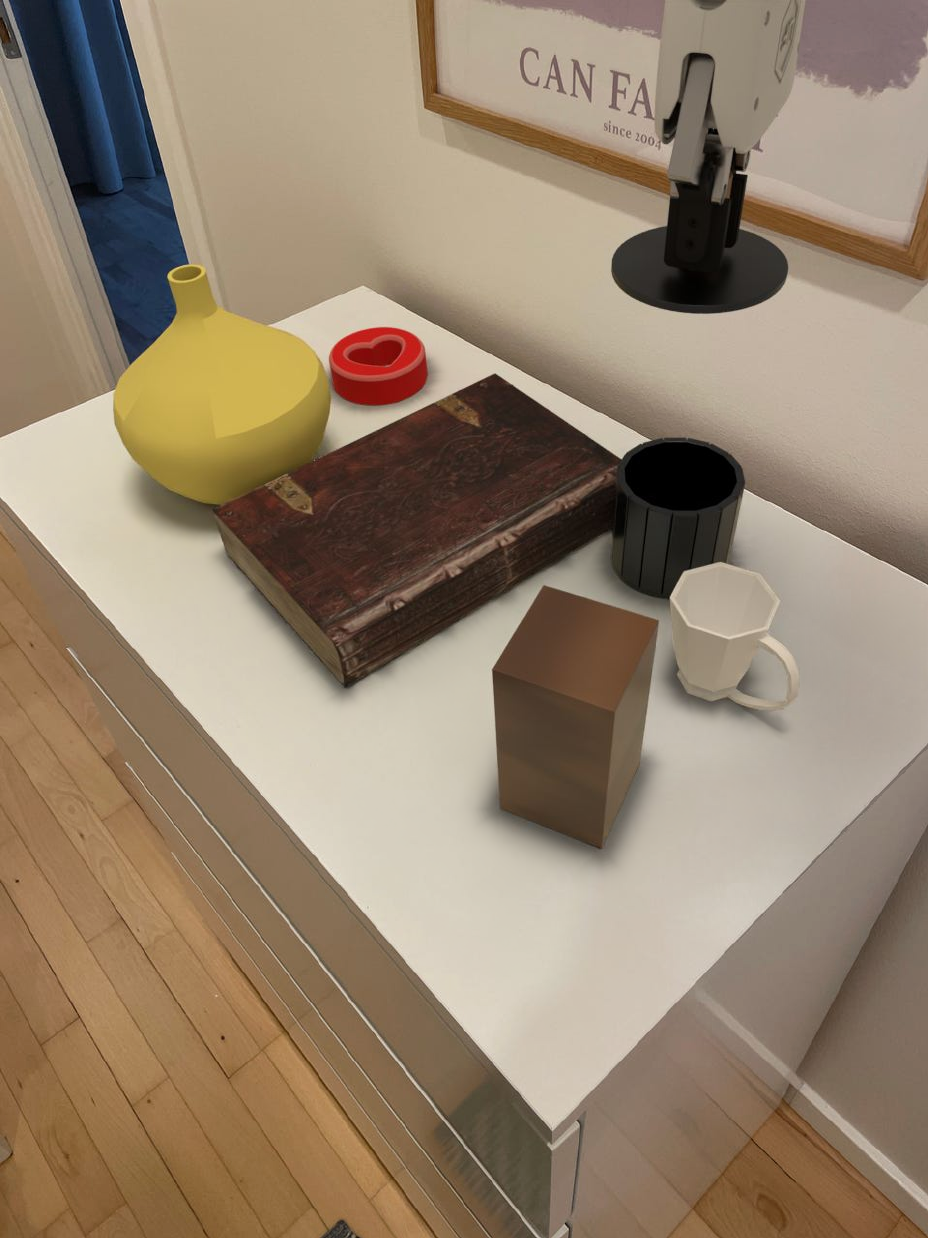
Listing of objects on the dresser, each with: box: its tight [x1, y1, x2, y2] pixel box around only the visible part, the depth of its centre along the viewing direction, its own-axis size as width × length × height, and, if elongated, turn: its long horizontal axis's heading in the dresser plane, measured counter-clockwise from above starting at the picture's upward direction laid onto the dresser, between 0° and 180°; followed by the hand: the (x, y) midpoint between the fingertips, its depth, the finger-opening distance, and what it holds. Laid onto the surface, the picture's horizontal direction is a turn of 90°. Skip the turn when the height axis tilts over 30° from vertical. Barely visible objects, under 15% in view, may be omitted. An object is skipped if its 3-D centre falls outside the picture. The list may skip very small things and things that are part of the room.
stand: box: [491, 584, 660, 849], centre depth 57 cm, size 7×7×14 cm
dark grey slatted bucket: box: [610, 436, 746, 600], centre depth 72 cm, size 9×9×8 cm
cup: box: [669, 562, 800, 712], centre depth 63 cm, size 7×10×8 cm
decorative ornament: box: [328, 326, 429, 406], centre depth 95 cm, size 10×10×3 cm
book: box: [211, 372, 622, 688], centre depth 77 cm, size 29×19×5 cm, turn 127°
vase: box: [112, 263, 332, 506], centre depth 80 cm, size 18×18×19 cm
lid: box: [610, 165, 789, 315], centre depth 53 cm, size 10×10×6 cm
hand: (700, 252), depth 54 cm, fingers closed on lid, 2 cm apart
